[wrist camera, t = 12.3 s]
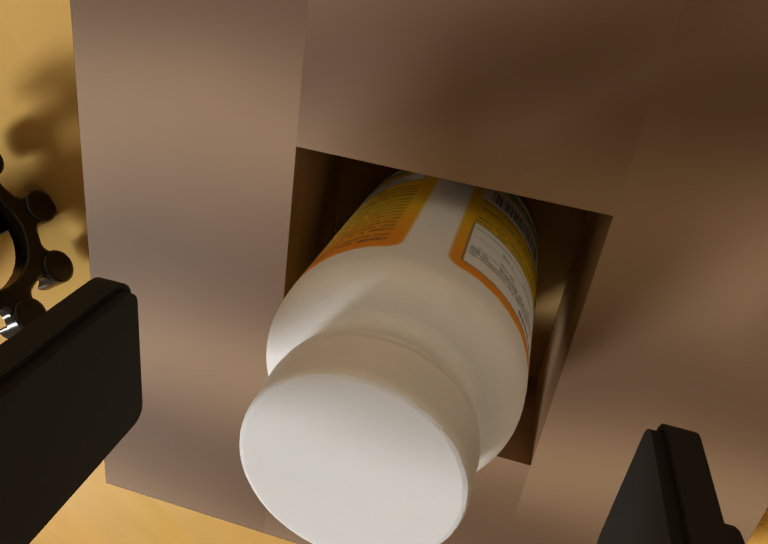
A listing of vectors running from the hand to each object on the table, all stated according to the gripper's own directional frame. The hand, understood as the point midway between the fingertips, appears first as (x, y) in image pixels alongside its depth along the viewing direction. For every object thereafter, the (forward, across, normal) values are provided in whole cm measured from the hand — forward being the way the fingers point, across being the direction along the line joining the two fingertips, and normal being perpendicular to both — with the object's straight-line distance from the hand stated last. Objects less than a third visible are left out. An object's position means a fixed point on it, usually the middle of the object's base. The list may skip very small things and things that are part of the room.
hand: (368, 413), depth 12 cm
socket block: (+8, 0, 0) cm, 8 cm away
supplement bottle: (+9, 0, 0) cm, 9 cm away
